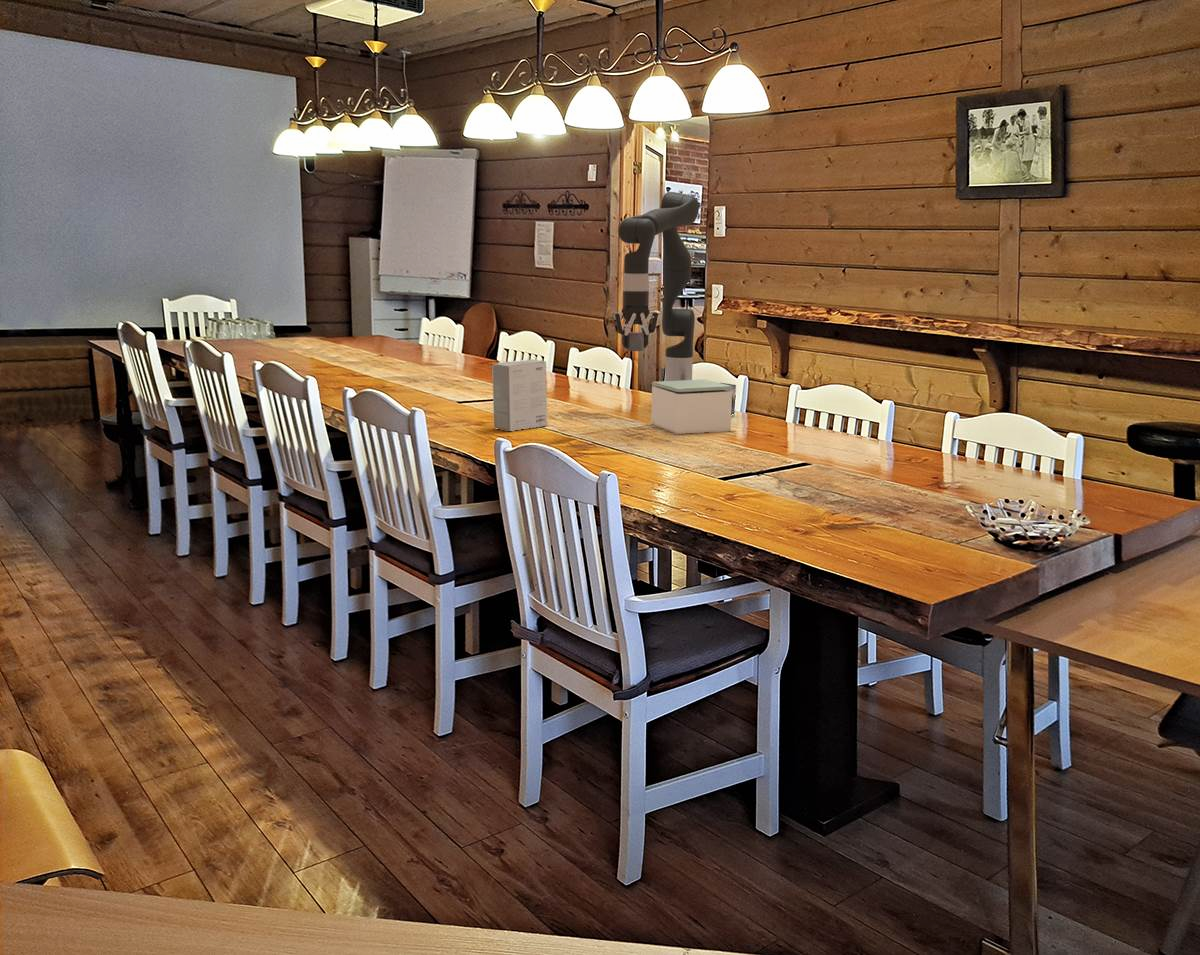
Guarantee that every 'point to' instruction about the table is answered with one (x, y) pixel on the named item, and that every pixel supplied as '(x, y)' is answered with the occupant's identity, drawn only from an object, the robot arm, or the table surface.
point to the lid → (691, 385)
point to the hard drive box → (519, 394)
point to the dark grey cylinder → (636, 341)
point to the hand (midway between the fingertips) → (634, 347)
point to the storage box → (691, 410)
